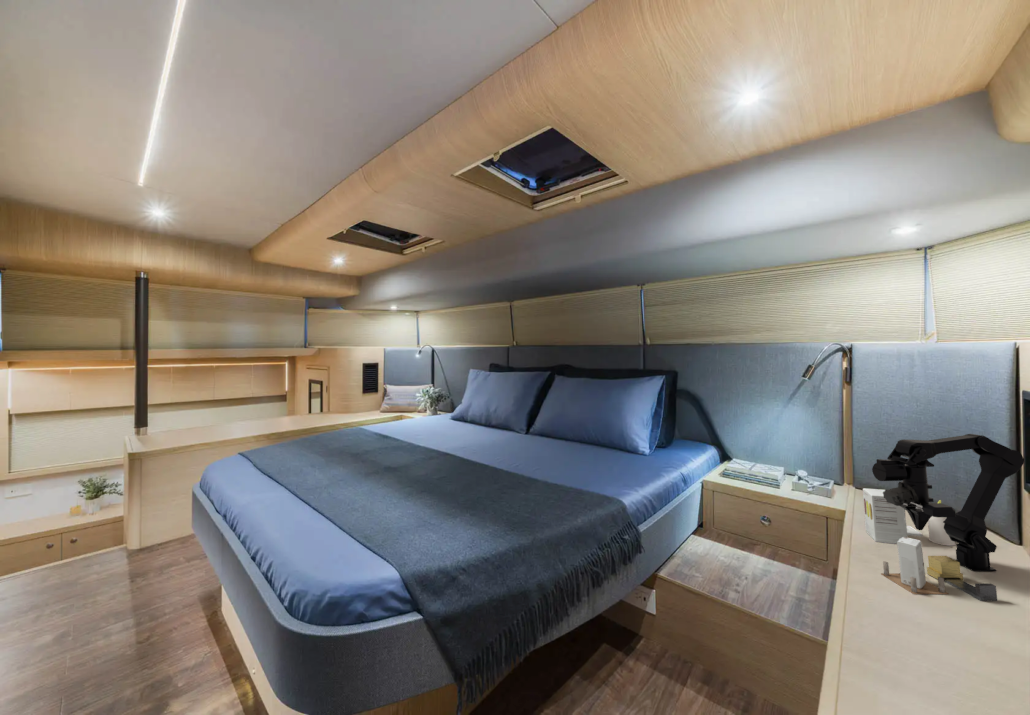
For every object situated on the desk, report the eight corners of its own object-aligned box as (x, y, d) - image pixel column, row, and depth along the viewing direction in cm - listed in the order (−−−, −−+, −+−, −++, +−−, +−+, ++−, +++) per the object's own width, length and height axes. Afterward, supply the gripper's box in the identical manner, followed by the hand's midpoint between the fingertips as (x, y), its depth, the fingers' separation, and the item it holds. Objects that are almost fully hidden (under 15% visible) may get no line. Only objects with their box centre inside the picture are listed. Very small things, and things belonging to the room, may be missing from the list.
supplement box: (865, 531, 151) (861, 487, 152) (896, 535, 147) (892, 489, 148) (875, 542, 143) (871, 495, 143) (909, 545, 139) (904, 497, 139)
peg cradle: (912, 574, 121) (911, 560, 121) (948, 594, 110) (947, 579, 110) (881, 574, 121) (880, 560, 122) (913, 594, 111) (912, 579, 111)
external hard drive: (869, 526, 157) (909, 529, 153) (880, 534, 149) (923, 537, 145) (869, 522, 157) (909, 524, 153) (880, 530, 150) (922, 533, 145)
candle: (942, 537, 143) (938, 496, 144) (960, 545, 137) (956, 501, 138) (923, 537, 144) (919, 496, 145) (940, 545, 138) (936, 502, 138)
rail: (944, 573, 120) (942, 560, 120) (997, 601, 106) (995, 585, 106) (929, 573, 120) (928, 560, 121) (981, 601, 106) (979, 585, 106)
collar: (949, 573, 119) (948, 555, 120) (963, 580, 115) (961, 562, 116) (927, 573, 120) (925, 555, 120) (940, 580, 116) (938, 562, 116)
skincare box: (921, 589, 112) (917, 546, 113) (899, 583, 116) (896, 541, 116) (926, 582, 116) (923, 540, 116) (905, 576, 119) (902, 535, 120)
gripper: (864, 473, 136) (868, 519, 135) (914, 489, 117) (919, 542, 117) (899, 472, 135) (903, 518, 134) (955, 488, 116) (960, 542, 116)
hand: (919, 529), depth 125 cm, fingers closed
